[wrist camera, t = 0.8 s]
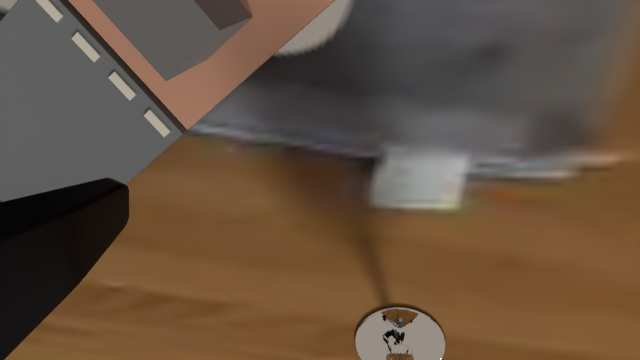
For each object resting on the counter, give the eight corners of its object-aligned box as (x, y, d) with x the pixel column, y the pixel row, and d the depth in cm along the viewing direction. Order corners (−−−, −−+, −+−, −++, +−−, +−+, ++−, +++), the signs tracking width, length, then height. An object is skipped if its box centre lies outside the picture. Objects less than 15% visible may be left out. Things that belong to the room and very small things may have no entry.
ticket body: (67, 236, 26) (51, 249, 25) (-61, 114, 24) (-84, 122, 23) (193, 125, 23) (181, 134, 22) (55, -25, 21) (35, -24, 20)
